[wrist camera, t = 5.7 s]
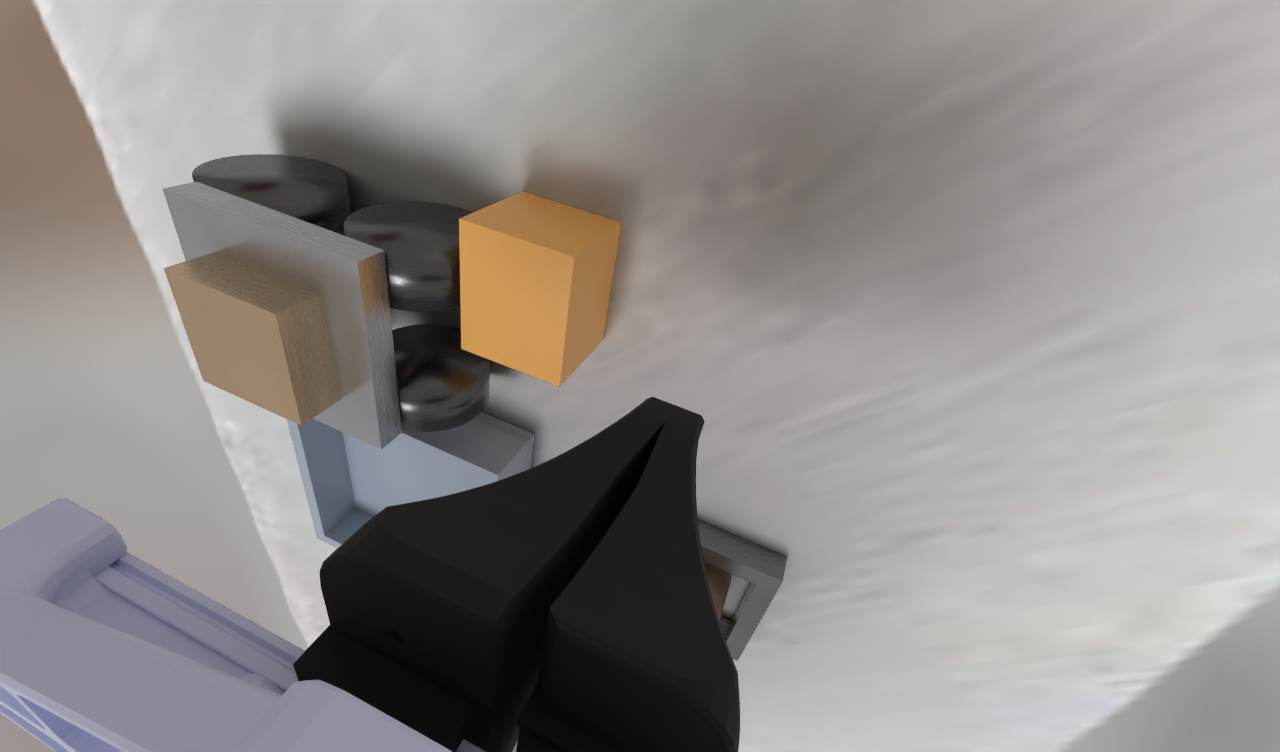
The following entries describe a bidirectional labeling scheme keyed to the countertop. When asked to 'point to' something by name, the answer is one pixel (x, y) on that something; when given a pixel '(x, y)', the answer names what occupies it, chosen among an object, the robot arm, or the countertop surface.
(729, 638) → the socket ring
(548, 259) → the block
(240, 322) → the trolley
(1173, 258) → the countertop surface
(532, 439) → the tray
